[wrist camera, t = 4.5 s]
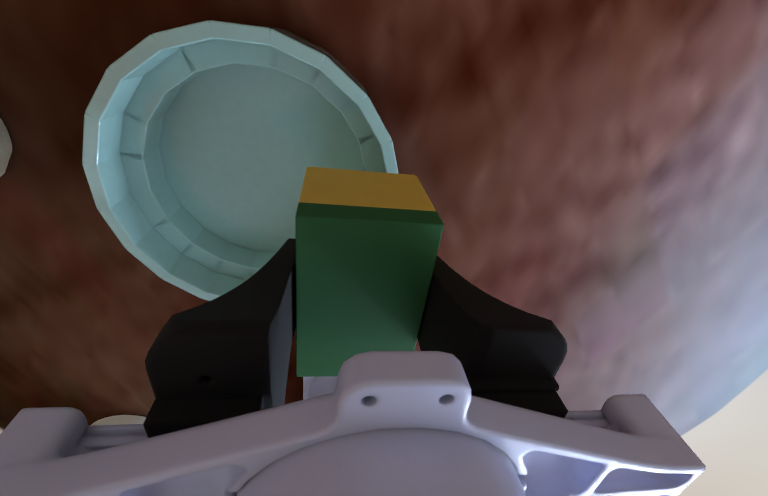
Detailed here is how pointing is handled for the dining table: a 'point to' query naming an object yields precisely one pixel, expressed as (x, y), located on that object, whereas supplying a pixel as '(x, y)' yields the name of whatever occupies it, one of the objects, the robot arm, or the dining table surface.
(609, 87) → the dining table surface
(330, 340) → the sponge
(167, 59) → the bowl
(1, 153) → the flower pot
